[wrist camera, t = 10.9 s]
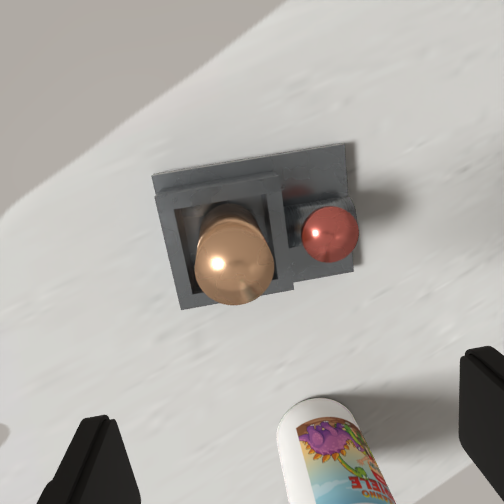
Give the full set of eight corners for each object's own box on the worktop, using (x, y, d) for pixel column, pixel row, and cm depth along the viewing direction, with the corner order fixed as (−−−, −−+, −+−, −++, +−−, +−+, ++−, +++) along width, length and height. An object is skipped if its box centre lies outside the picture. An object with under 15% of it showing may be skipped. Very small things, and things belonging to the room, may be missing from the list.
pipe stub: (253, 198, 28) (268, 223, 20) (262, 254, 29) (279, 297, 22) (194, 209, 28) (187, 238, 20) (206, 264, 29) (203, 311, 22)
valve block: (339, 143, 28) (373, 146, 22) (348, 266, 32) (380, 298, 26) (154, 174, 28) (137, 185, 22) (182, 296, 31) (174, 336, 25)
